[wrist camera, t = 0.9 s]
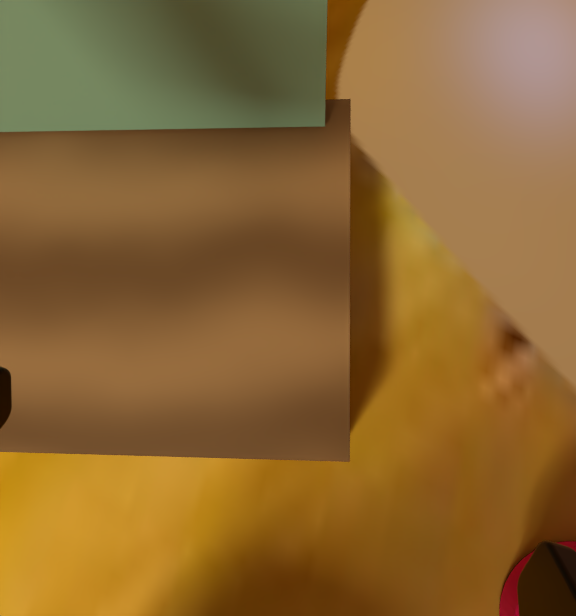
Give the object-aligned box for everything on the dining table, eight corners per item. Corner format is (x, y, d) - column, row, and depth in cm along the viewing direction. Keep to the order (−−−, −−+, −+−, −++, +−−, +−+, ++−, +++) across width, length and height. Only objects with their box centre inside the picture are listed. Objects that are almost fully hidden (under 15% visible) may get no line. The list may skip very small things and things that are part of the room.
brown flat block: (344, 442, 22) (349, 461, 18) (3, 433, 23) (-63, 449, 19) (345, 142, 23) (350, 99, 19) (22, 147, 24) (-35, 107, 20)
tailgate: (330, 134, 19) (344, -196, 8) (-23, 139, 20) (-476, -146, 9) (330, 89, 19) (344, -297, 8) (-20, 97, 20) (-461, -236, 9)
